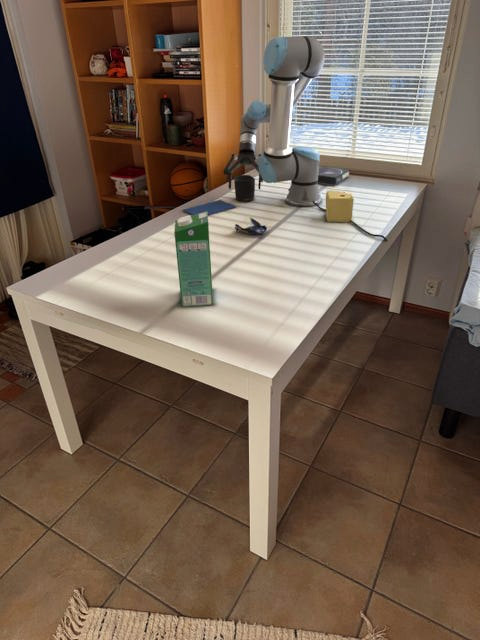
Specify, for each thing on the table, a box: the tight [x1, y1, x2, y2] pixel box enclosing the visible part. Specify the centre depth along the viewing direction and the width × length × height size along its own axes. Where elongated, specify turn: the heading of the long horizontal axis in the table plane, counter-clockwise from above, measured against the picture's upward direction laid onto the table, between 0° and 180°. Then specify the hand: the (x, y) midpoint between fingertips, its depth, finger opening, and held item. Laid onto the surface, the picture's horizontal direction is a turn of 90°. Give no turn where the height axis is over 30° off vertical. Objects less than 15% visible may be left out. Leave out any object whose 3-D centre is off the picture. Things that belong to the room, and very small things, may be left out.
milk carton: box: [173, 211, 214, 307], centre depth 132 cm, size 9×9×25 cm
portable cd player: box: [318, 165, 350, 186], centre depth 241 cm, size 16×17×4 cm
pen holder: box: [233, 174, 256, 203], centre depth 214 cm, size 9×9×10 cm
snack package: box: [234, 217, 268, 236], centre depth 180 cm, size 12×6×12 cm
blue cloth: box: [182, 199, 237, 216], centre depth 206 cm, size 12×20×1 cm, turn 128°
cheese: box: [325, 190, 355, 223], centre depth 191 cm, size 10×11×10 cm
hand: (244, 187), depth 213 cm, fingers open, 13 cm apart
